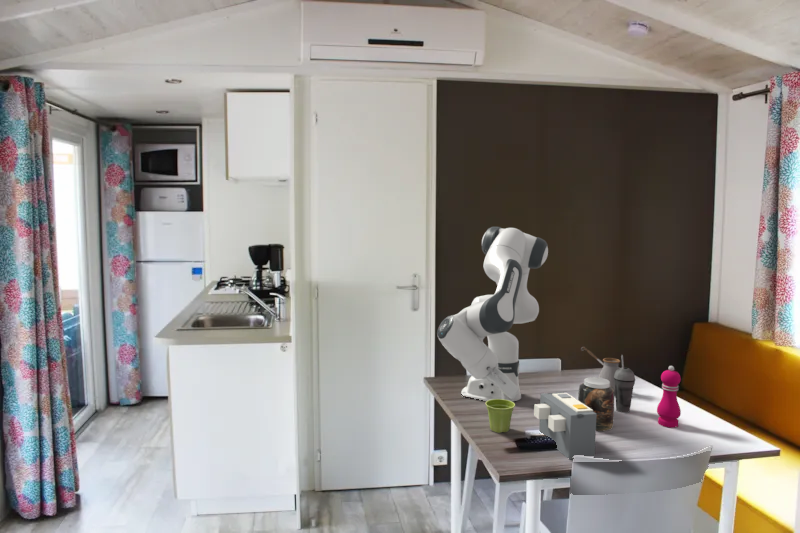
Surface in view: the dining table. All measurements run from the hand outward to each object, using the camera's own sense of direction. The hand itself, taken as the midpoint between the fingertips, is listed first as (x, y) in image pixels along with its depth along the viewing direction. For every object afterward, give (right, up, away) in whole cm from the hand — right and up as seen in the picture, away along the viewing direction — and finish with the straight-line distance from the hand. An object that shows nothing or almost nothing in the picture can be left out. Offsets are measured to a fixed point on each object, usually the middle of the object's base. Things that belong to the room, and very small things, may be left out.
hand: (513, 395), depth 172 cm
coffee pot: (+47, -12, +67) cm, 83 cm away
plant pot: (0, -16, +22) cm, 28 cm away
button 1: (+12, -10, +14) cm, 21 cm away
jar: (+32, -16, +28) cm, 45 cm away
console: (+18, -17, +11) cm, 27 cm away
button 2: (+14, -11, +4) cm, 18 cm away
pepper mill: (+57, -16, +29) cm, 66 cm away
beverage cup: (+47, -15, +42) cm, 64 cm away
